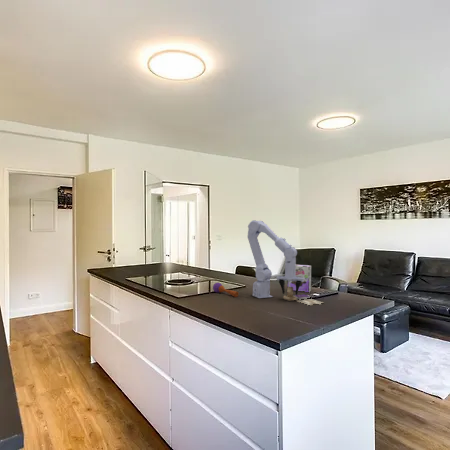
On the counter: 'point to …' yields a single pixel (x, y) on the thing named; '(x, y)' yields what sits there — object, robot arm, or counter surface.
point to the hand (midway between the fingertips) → (290, 294)
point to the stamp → (290, 294)
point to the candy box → (302, 272)
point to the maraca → (219, 288)
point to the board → (309, 301)
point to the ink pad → (302, 296)
